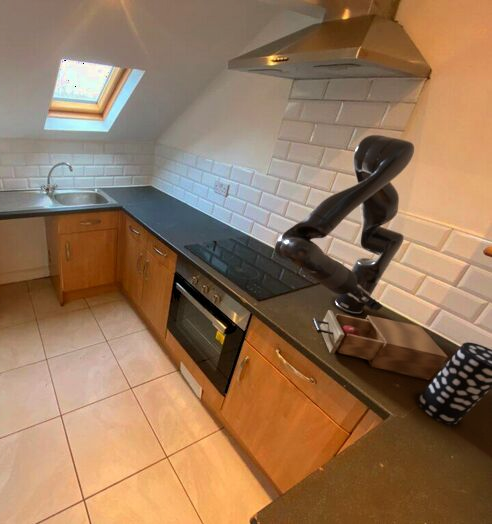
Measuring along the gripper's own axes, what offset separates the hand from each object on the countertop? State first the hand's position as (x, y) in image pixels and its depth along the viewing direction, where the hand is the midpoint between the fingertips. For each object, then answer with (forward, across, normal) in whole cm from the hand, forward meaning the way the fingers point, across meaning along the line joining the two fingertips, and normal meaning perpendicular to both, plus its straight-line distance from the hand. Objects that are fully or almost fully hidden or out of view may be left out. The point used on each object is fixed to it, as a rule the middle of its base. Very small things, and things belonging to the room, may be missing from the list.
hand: (367, 299), depth 89 cm
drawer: (+7, 0, +16) cm, 18 cm away
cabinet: (+20, -5, +11) cm, 23 cm away
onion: (+7, 0, +15) cm, 16 cm away
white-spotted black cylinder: (+18, -23, +12) cm, 32 cm away
